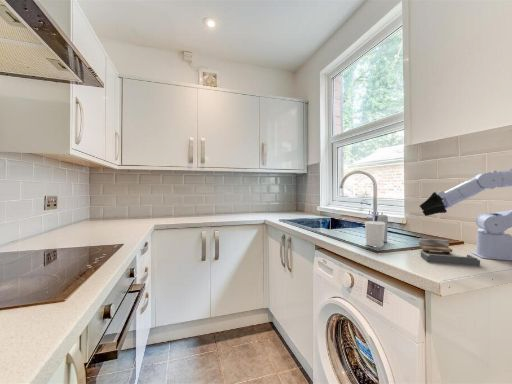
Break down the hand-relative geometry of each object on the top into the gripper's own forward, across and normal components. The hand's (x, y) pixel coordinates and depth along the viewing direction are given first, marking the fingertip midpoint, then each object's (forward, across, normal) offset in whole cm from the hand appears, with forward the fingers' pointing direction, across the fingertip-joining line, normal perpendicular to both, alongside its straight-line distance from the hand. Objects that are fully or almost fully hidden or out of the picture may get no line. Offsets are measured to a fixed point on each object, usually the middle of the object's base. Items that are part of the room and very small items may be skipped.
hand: (422, 211), depth 99 cm
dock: (+4, +2, +19) cm, 20 cm away
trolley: (+5, -4, +15) cm, 16 cm away
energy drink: (+21, -9, +1) cm, 23 cm away
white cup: (+23, +1, +5) cm, 24 cm away
